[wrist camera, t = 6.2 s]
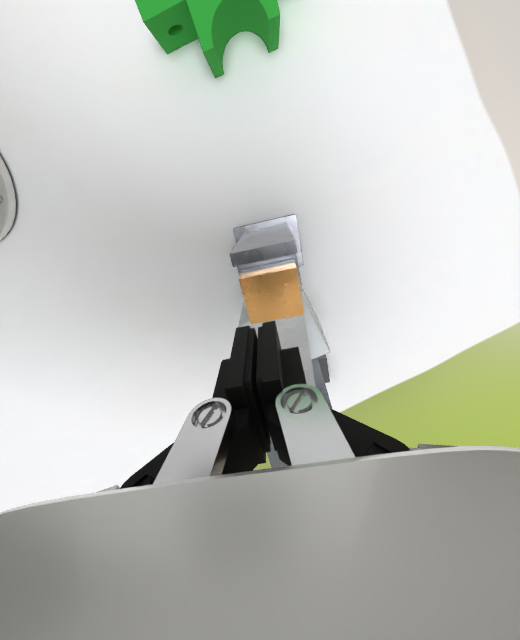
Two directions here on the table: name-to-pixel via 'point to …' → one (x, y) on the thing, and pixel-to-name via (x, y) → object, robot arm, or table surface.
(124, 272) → the table surface
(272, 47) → the pipe clamp
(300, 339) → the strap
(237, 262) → the lug block
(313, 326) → the product box
